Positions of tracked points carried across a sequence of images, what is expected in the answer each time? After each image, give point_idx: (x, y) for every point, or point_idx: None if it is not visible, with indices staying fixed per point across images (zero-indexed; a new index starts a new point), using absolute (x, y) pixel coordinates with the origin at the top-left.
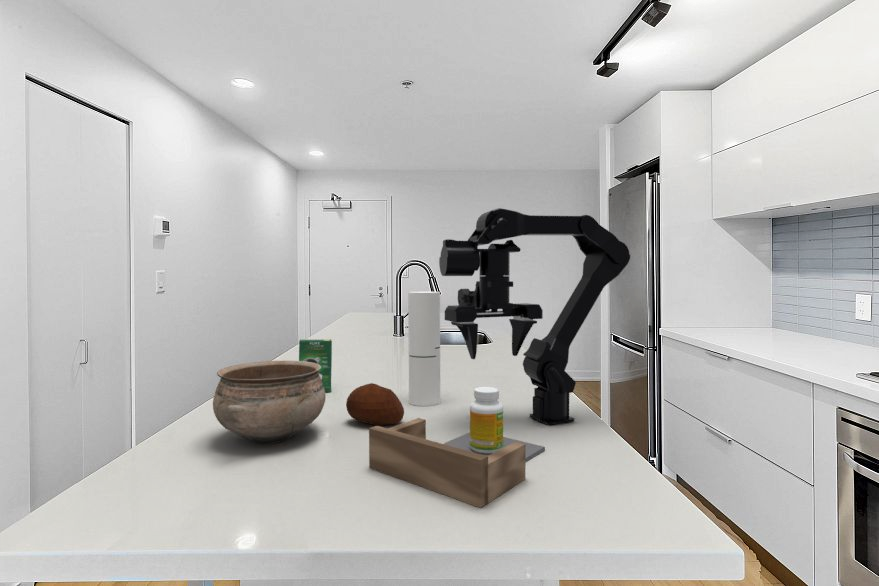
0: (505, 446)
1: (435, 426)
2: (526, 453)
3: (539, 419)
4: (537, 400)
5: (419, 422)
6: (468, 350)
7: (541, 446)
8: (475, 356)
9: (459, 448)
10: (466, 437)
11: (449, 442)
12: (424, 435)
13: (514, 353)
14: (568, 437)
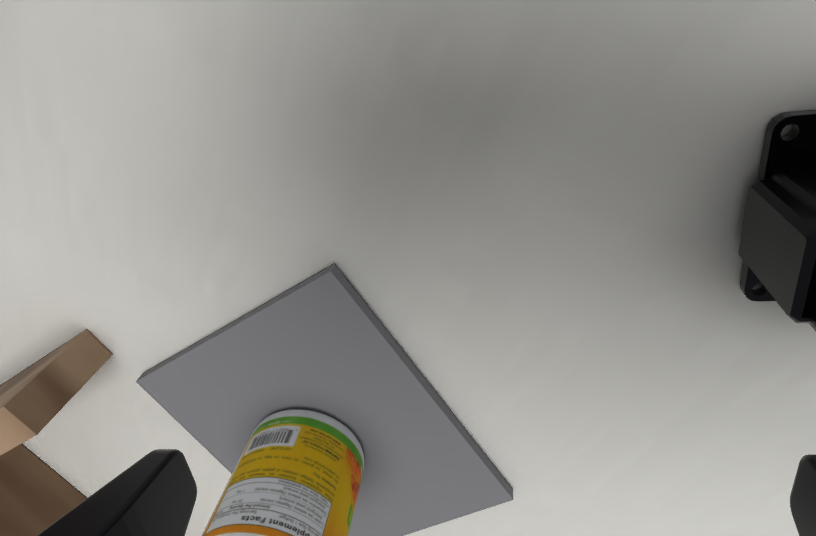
0: (381, 454)
1: (163, 99)
2: (421, 515)
3: (740, 246)
4: (790, 286)
5: (15, 446)
6: (65, 525)
7: (503, 494)
8: (183, 529)
9: (219, 417)
10: (268, 338)
11: (193, 360)
12: (74, 391)
13: (804, 521)
14: (696, 431)
